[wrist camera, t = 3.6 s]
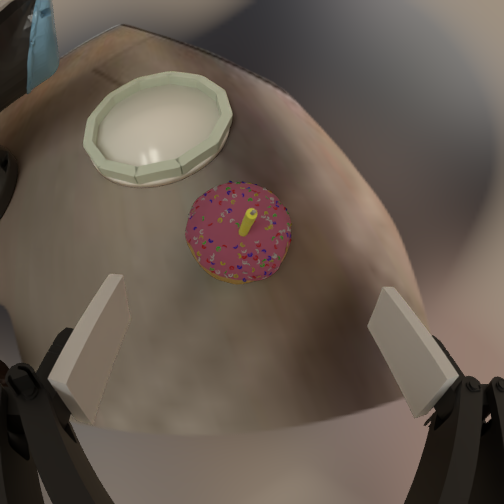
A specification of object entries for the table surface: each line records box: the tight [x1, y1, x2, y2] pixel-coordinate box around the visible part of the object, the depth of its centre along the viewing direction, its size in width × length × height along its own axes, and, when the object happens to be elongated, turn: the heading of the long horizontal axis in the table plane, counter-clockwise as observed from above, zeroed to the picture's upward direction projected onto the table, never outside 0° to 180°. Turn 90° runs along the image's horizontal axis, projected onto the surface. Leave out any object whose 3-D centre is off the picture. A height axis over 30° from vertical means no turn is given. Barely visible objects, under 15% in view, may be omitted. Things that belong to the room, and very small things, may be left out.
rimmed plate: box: [83, 71, 233, 188], centre depth 29 cm, size 18×18×2 cm
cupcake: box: [185, 181, 292, 284], centre depth 21 cm, size 9×8×12 cm
